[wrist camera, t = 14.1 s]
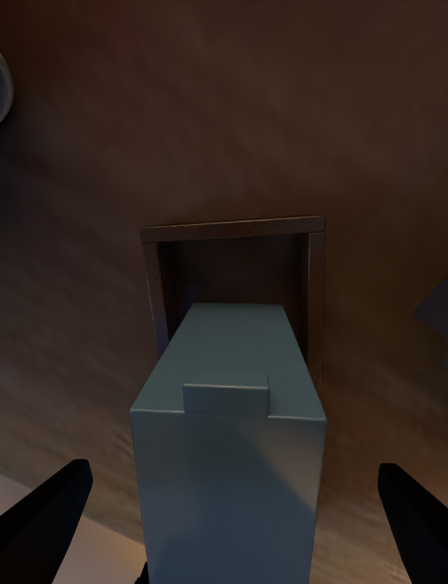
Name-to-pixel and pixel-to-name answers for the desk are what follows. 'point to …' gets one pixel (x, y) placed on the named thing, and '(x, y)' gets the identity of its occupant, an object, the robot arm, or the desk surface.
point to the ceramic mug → (5, 89)
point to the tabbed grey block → (229, 451)
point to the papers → (436, 313)
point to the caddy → (240, 273)
